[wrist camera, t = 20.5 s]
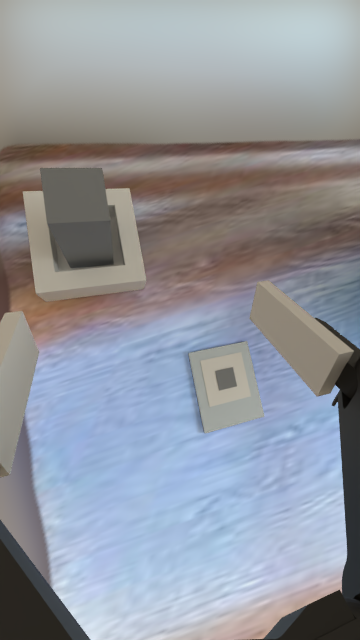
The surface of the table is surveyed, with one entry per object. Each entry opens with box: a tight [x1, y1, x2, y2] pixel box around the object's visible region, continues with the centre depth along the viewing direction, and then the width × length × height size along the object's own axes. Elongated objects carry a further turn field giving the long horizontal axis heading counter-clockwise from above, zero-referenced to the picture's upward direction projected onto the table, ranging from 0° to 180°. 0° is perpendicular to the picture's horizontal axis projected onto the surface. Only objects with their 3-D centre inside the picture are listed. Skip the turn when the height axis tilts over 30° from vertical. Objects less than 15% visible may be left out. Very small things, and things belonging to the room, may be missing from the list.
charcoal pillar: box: [40, 168, 114, 268], centre depth 32 cm, size 6×6×12 cm
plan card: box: [188, 341, 264, 433], centre depth 40 cm, size 10×12×1 cm
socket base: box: [23, 188, 146, 302], centre depth 37 cm, size 14×14×4 cm
